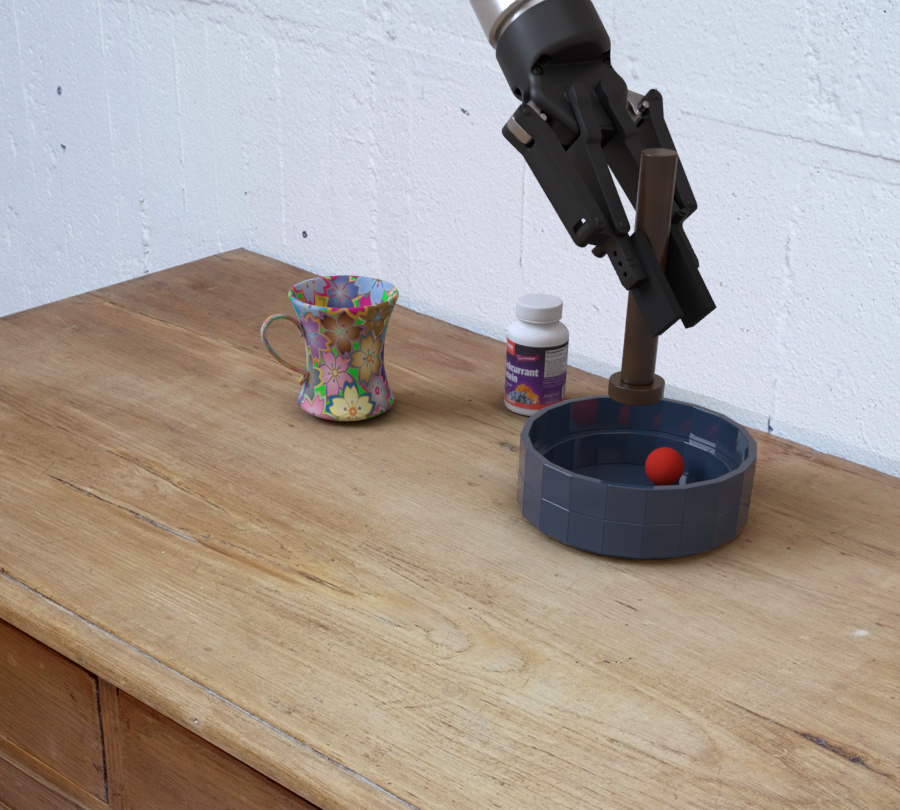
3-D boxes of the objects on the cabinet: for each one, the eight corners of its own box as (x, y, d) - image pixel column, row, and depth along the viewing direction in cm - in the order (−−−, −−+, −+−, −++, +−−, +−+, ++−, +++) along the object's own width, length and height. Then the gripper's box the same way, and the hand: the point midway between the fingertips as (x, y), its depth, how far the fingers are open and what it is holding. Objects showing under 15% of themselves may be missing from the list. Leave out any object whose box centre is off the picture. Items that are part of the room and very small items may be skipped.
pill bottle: (491, 405, 117) (495, 298, 112) (533, 390, 121) (538, 286, 116) (534, 423, 114) (540, 314, 109) (576, 407, 117) (584, 301, 112)
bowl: (709, 460, 108) (718, 391, 105) (776, 561, 93) (789, 485, 90) (502, 466, 106) (505, 396, 103) (538, 570, 92) (542, 492, 88)
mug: (376, 383, 121) (375, 270, 116) (415, 420, 114) (415, 301, 109) (250, 402, 117) (243, 285, 112) (282, 441, 110) (276, 318, 104)
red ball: (676, 475, 104) (680, 440, 102) (686, 492, 101) (690, 456, 100) (639, 476, 104) (643, 441, 102) (648, 493, 101) (652, 457, 100)
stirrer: (655, 384, 97) (681, 145, 88) (669, 405, 93) (697, 158, 84) (602, 385, 96) (623, 145, 87) (614, 406, 93) (637, 158, 84)
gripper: (595, 53, 99) (730, 328, 96) (428, 69, 91) (569, 370, 88) (651, -18, 92) (797, 275, 89) (477, -7, 84) (631, 315, 81)
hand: (684, 321), depth 89 cm, fingers closed on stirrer, 2 cm apart
